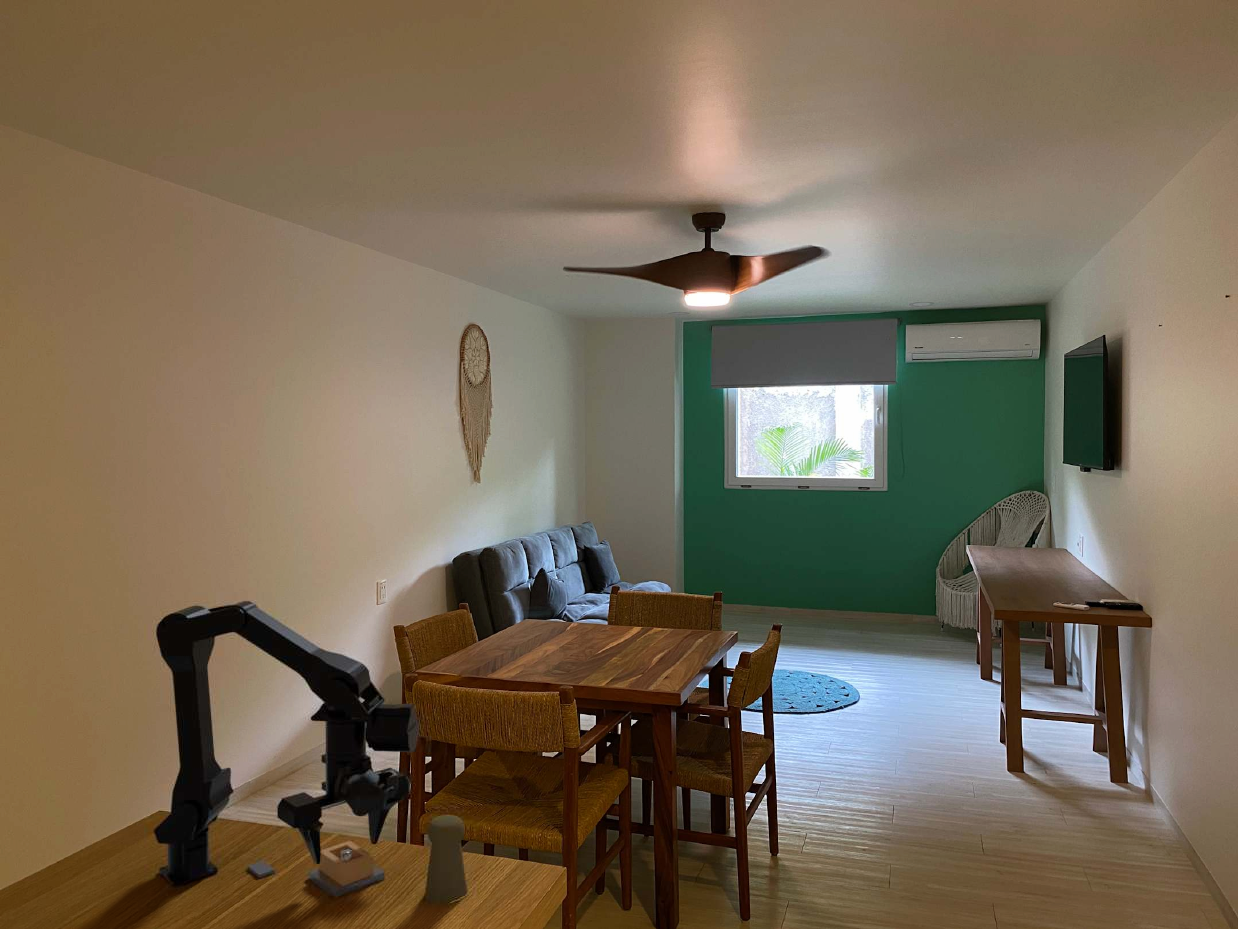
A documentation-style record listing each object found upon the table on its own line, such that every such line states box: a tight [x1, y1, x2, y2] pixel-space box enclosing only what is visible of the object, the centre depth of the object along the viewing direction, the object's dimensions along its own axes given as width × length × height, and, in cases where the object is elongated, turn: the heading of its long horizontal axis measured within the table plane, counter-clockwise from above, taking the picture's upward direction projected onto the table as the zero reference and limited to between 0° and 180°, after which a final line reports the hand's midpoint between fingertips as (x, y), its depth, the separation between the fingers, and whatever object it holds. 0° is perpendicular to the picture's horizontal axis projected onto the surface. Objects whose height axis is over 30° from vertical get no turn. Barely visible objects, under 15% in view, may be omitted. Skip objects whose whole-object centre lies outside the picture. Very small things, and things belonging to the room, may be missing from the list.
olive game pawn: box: [424, 814, 468, 905], centre depth 134 cm, size 6×6×11 cm
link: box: [318, 840, 375, 886], centre depth 139 cm, size 7×5×3 cm
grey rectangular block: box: [247, 860, 276, 879], centre depth 141 cm, size 4×2×1 cm, turn 45°
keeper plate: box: [307, 850, 386, 898], centre depth 139 cm, size 8×8×4 cm
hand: (346, 853), depth 139 cm, fingers open, 9 cm apart
